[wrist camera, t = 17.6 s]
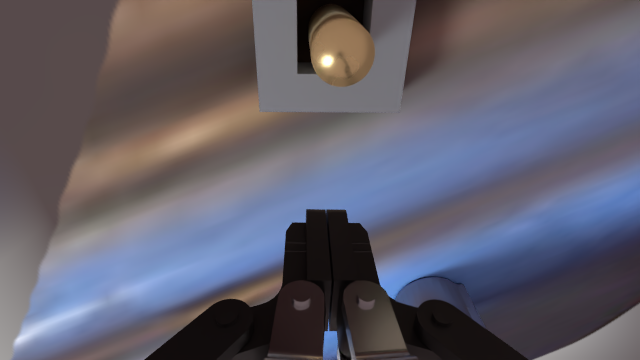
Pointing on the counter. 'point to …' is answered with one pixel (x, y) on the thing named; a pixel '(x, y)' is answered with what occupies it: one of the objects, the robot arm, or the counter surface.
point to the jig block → (300, 77)
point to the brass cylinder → (339, 46)
